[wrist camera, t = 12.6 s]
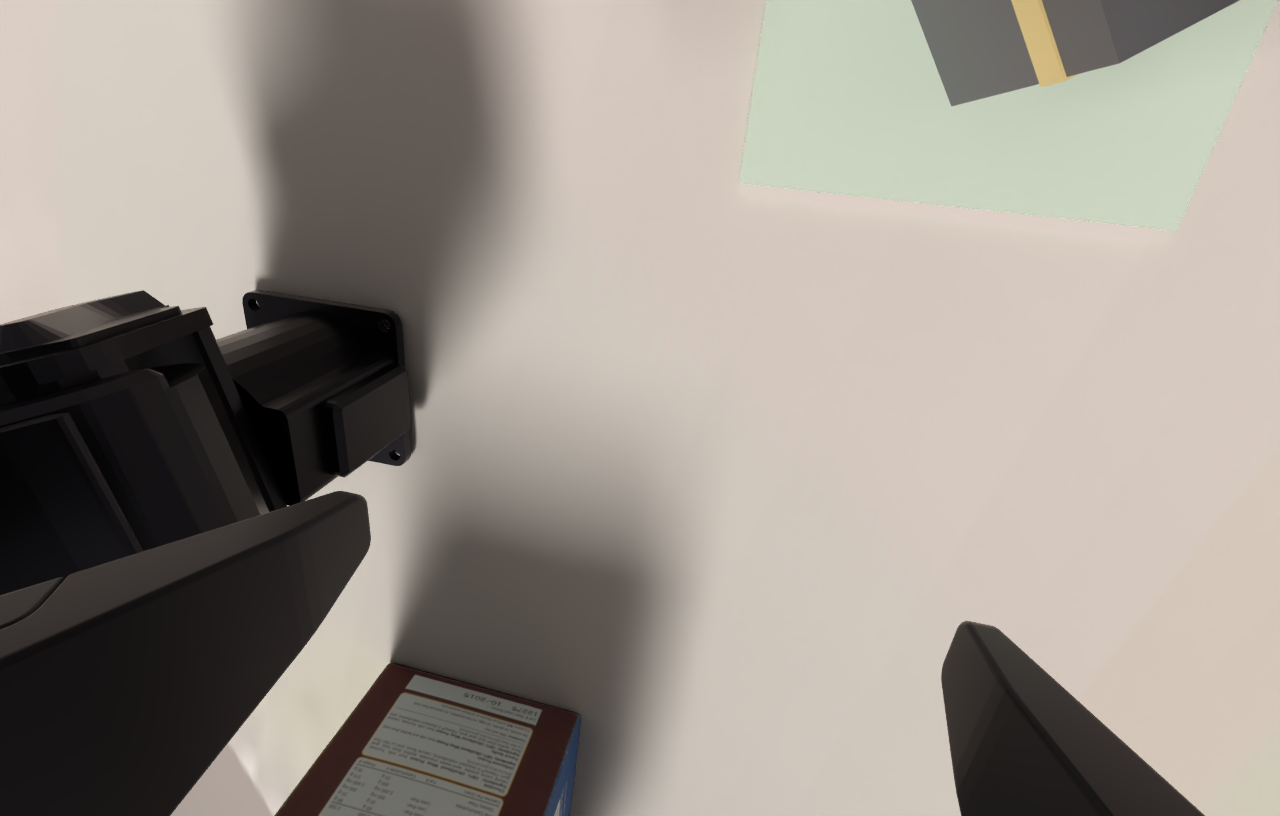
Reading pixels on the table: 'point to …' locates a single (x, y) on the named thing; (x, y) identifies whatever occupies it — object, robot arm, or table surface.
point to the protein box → (442, 754)
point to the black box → (1043, 38)
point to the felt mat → (988, 118)
